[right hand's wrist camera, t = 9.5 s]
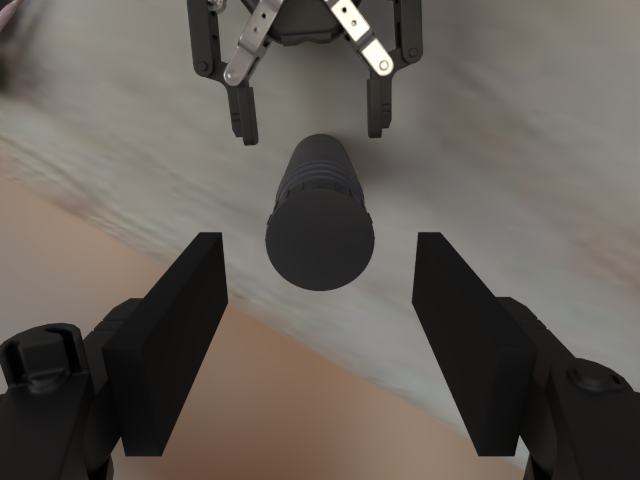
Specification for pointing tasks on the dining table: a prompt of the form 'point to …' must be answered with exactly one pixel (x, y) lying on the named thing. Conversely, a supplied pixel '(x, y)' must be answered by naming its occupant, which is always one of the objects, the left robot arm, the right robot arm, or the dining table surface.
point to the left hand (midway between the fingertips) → (313, 140)
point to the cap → (319, 235)
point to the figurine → (8, 12)
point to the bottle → (319, 165)
